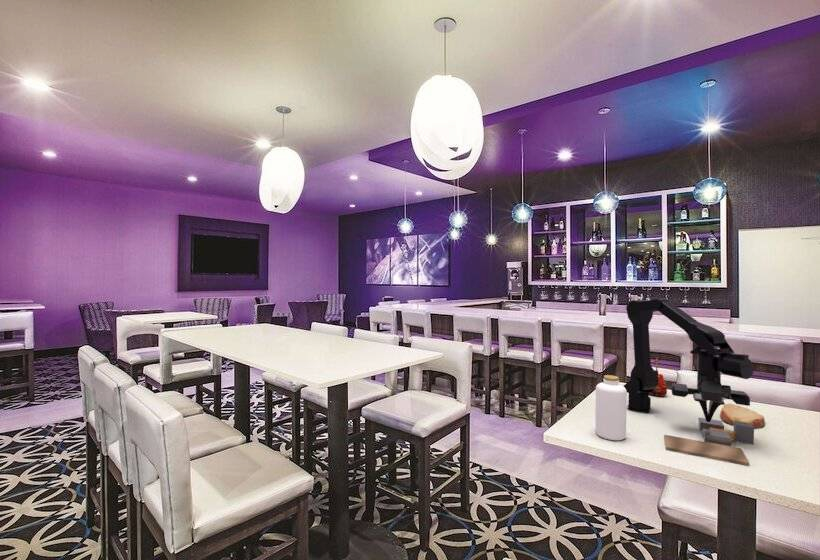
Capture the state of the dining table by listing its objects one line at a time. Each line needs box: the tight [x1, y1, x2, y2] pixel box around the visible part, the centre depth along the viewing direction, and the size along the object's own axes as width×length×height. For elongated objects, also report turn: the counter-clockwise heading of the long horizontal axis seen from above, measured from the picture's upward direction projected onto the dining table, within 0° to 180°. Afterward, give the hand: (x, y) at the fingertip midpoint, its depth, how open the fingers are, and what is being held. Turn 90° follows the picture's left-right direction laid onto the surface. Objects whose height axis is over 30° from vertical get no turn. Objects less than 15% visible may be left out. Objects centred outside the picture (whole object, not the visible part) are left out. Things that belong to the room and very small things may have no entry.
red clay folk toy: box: [649, 357, 668, 398], centre depth 161 cm, size 8×7×15 cm
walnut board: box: [663, 434, 750, 467], centre depth 110 cm, size 18×10×1 cm, turn 59°
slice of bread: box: [719, 403, 766, 429], centre depth 135 cm, size 18×18×4 cm
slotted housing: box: [697, 417, 732, 447], centre depth 120 cm, size 6×16×2 cm, turn 149°
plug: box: [709, 421, 755, 445], centre depth 118 cm, size 10×4×5 cm, turn 59°
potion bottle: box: [594, 374, 628, 441], centre depth 119 cm, size 8×8×18 cm
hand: (708, 421), depth 121 cm, fingers closed
